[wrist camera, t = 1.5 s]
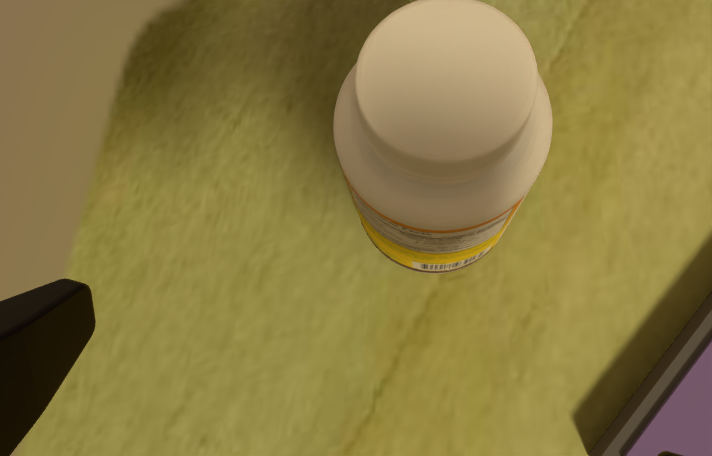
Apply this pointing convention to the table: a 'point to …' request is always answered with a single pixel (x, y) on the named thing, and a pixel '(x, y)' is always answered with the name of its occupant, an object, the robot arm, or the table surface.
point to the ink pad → (670, 400)
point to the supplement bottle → (441, 131)
